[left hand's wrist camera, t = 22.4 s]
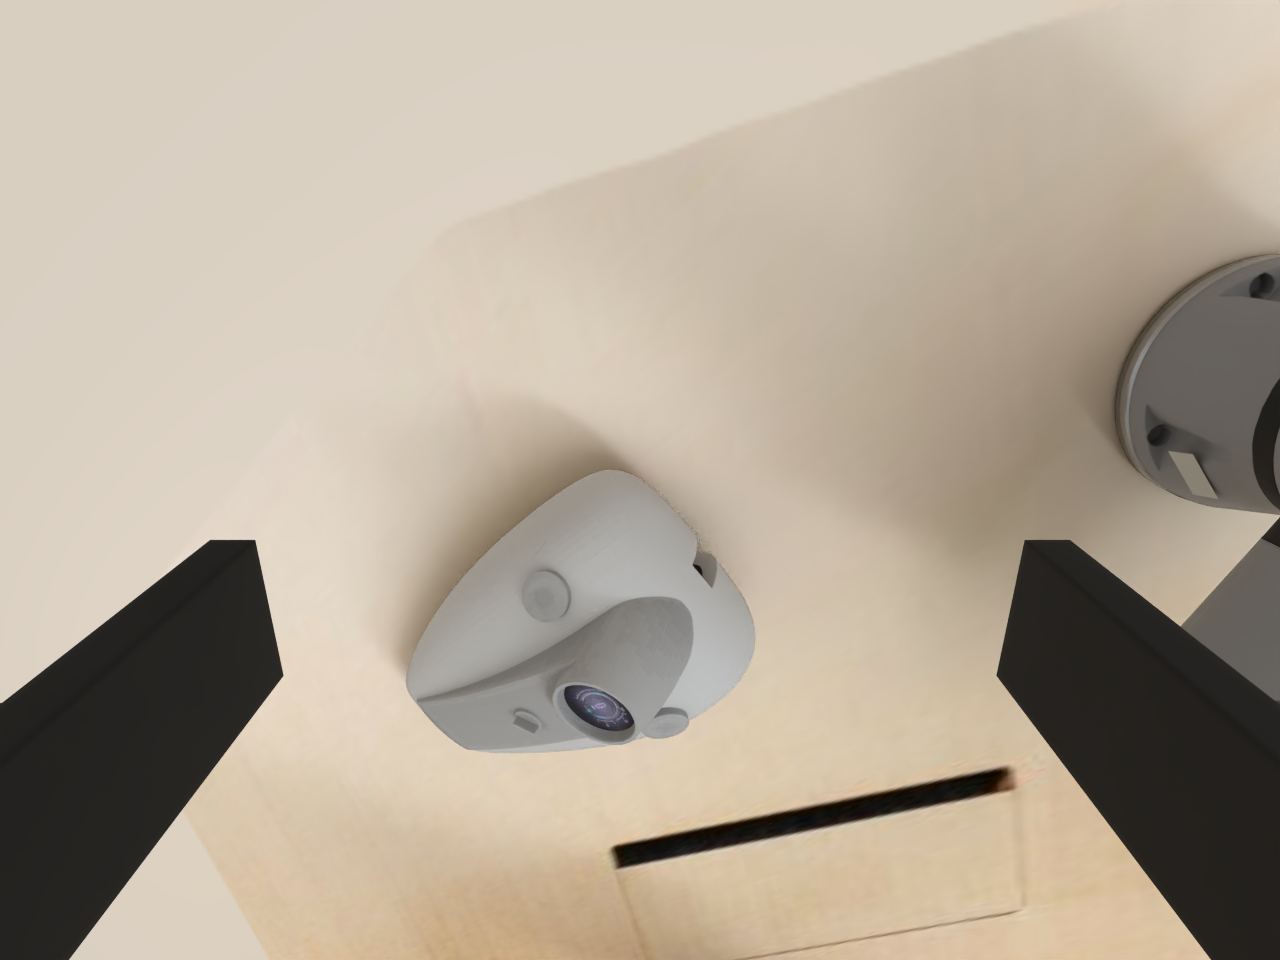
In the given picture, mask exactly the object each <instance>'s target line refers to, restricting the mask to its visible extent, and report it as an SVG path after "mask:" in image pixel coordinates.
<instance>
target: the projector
mask: <svg viewBox="0 0 1280 960" xmlns="http://www.w3.org/2000/svg"><path fill="white" fill-rule="evenodd" d="M697 546H698V541H697V536H696V534H695V533H694V531H693V530H692V529H691V528H690V527H689V526H688V524H687V523H686V522H685V521H684V520H683V519H682V517H681V516H680V515H679V514H678V513H677V512H676V511H675V510H674V508H673V507H672V506H671V505H670V504H669V503H668V502H667V501H666V500H665V499H664V498H663V497H662V496H661V495H660V494H659V493H657V492H656V491H655V490H654V489H653V488H652V487H651V486H649V485H648V484H647V483H645V482H644V481H643V480H641V479H640V478H638V477H636V476H634V475H632V474H629V473H626V472H623V471H619V470H602V471H598V472H595V473H592V474H590V475H588V476H586V477H584V478H582V479H580V480H578V481H576V482H575V483H573V484H571V485H570V486H568V487H566V488H565V489H563V490H562V491H560V492H559V493H557V494H556V495H555V496H553V497H552V498H550V499H549V500H548V501H546V502H545V503H544V504H542V505H541V506H540V507H538V508H537V509H536V510H534V511H533V512H532V513H531V514H529V515H528V516H527V517H526V518H524V519H523V520H522V521H521V522H520V523H518V524H517V525H516V526H515V527H514V528H513V529H511V530H510V531H509V532H508V533H507V534H506V535H505V536H503V537H502V538H501V539H500V540H499V541H498V542H497V543H496V544H495V545H493V546H492V547H491V548H490V549H489V550H488V551H487V552H486V553H485V554H484V555H483V556H482V557H481V558H480V559H479V560H478V561H477V562H476V563H475V564H474V565H473V567H472V568H471V569H470V570H469V571H468V572H467V573H466V574H465V575H464V576H463V577H462V579H461V580H460V581H459V582H458V584H457V585H456V586H455V587H454V589H453V590H452V591H451V592H450V594H449V595H448V596H447V597H446V599H445V600H444V602H443V603H442V604H441V606H440V607H439V609H438V610H437V612H436V613H435V615H434V616H433V618H432V619H431V621H430V623H429V624H428V626H427V628H426V629H425V631H424V633H423V635H422V637H421V638H420V640H419V642H418V644H417V647H416V649H415V651H414V653H413V656H412V658H411V661H410V665H409V668H408V672H407V677H406V686H407V690H408V692H409V694H410V695H411V697H412V699H413V700H414V701H415V702H416V704H417V705H418V706H419V707H420V708H421V709H422V710H423V712H424V713H425V714H426V715H427V717H428V718H429V719H430V720H431V721H432V722H433V723H434V724H435V725H436V726H437V727H438V728H439V729H440V730H441V731H442V732H443V733H444V734H445V735H447V736H448V737H449V738H450V739H452V740H453V741H454V742H456V743H457V744H459V745H460V746H462V747H463V748H465V749H468V750H476V751H480V752H491V753H540V752H556V751H570V750H581V749H588V748H596V747H604V746H609V745H621V744H626V743H629V742H631V741H633V740H637V739H641V738H645V737H649V738H656V739H660V738H668V737H671V736H674V735H677V734H679V733H681V732H682V731H684V730H685V729H686V728H687V727H688V725H689V720H691V719H693V718H695V717H697V716H698V715H700V714H702V713H704V712H705V711H706V710H708V709H709V708H711V707H712V706H714V705H715V704H716V703H718V702H719V701H720V700H721V699H722V698H723V697H724V696H726V695H727V694H728V693H729V692H730V691H731V690H732V689H733V688H734V686H735V685H736V684H737V683H738V682H739V681H740V679H741V678H742V676H743V675H744V673H745V671H746V670H747V668H748V666H749V664H750V661H751V659H752V656H753V653H754V648H755V628H754V623H753V619H752V616H751V613H750V610H749V608H748V605H747V603H746V601H745V599H744V598H743V596H742V594H741V592H740V591H739V589H738V588H737V586H736V585H735V583H734V582H733V580H732V579H731V578H730V576H729V575H728V574H727V572H726V571H725V570H724V568H723V567H722V566H721V565H720V563H719V562H718V561H717V560H716V558H715V557H714V556H713V555H711V554H709V553H696V552H697Z"/></svg>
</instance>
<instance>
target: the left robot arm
mask: <svg viewBox="0 0 1280 960" xmlns="http://www.w3.org/2000/svg"><path fill="white" fill-rule="evenodd" d="M1115 415H1116V425H1117V431H1118V435H1119V439H1120V442H1121V444H1122V447H1123V449H1124V451H1125V453H1126V455H1127V457H1128V458H1129V460H1130V461H1131V463H1132V464H1133V465H1134V467H1135V468H1136V469H1137V470H1138V471H1139V472H1140V473H1141V474H1142V475H1143V476H1145V477H1146V478H1147V479H1148V480H1150V481H1151V482H1153V483H1154V484H1156V485H1157V486H1159V487H1161V488H1163V489H1165V490H1167V491H1168V492H1170V493H1172V494H1174V495H1177V496H1179V497H1181V498H1184V499H1187V500H1190V501H1193V502H1196V503H1199V504H1203V505H1206V506H1211V507H1217V508H1226V509H1235V510H1243V511H1252V512H1260V513H1269V514H1277V515H1280V254H1275V255H1263V256H1257V257H1252V258H1248V259H1244V260H1240V261H1237V262H1234V263H1231V264H1228V265H1226V266H1223V267H1221V268H1219V269H1217V270H1214V271H1212V272H1210V273H1209V274H1207V275H1205V276H1203V277H1201V278H1200V279H1198V280H1196V281H1195V282H1193V283H1192V284H1190V285H1189V286H1187V287H1186V288H1185V289H1183V290H1182V291H1181V292H1179V293H1178V294H1177V295H1176V296H1175V297H1173V298H1172V299H1171V300H1170V301H1169V302H1168V303H1167V304H1166V305H1165V306H1164V307H1163V308H1162V309H1161V310H1160V311H1159V312H1158V313H1157V314H1156V315H1155V316H1154V317H1153V319H1152V320H1151V321H1150V322H1149V324H1148V325H1147V326H1146V327H1145V329H1144V330H1143V332H1142V333H1141V335H1140V336H1139V337H1138V339H1137V341H1136V343H1135V344H1134V346H1133V348H1132V350H1131V352H1130V354H1129V356H1128V358H1127V360H1126V362H1125V365H1124V368H1123V370H1122V373H1121V377H1120V380H1119V384H1118V389H1117V395H1116V405H1115ZM1271 543H1272V544H1271ZM1273 544H1274V545H1273ZM1275 545H1276V546H1275ZM1277 546H1278V547H1277ZM1279 547H1280V518H1279V519H1278V520H1277V521H1276V522H1275V523H1274V524H1273V526H1272V527H1271V528H1270V529H1269V530H1268V531H1267V532H1266V533H1265V535H1264V536H1262V537H1261V539H1260V540H1259V541H1258V542H1257V543H1256V544H1255V546H1254V547H1253V548H1252V549H1251V550H1250V551H1249V552H1248V553H1247V554H1246V555H1245V556H1244V558H1243V559H1242V560H1241V561H1240V562H1239V563H1238V564H1237V565H1236V566H1235V567H1234V569H1233V570H1232V571H1231V572H1230V573H1229V574H1228V575H1227V576H1226V577H1225V578H1224V580H1223V581H1222V582H1221V583H1220V584H1219V585H1218V586H1217V587H1216V588H1215V589H1214V591H1213V592H1212V593H1211V594H1210V595H1209V596H1208V597H1207V598H1206V599H1205V600H1204V602H1203V603H1202V604H1201V605H1200V606H1199V607H1198V608H1197V609H1196V610H1195V611H1194V612H1193V614H1192V615H1191V616H1190V617H1189V618H1188V619H1187V620H1186V621H1185V622H1184V623H1183V625H1182V626H1181V627H1180V626H1179V625H1178V624H1176V623H1175V622H1174V621H1172V620H1171V619H1170V618H1169V617H1167V616H1166V615H1165V614H1164V613H1162V612H1161V611H1160V610H1158V609H1157V608H1156V607H1155V606H1153V605H1152V604H1151V603H1149V602H1148V601H1147V600H1146V599H1144V598H1143V597H1142V596H1141V595H1139V594H1138V593H1137V592H1135V591H1134V590H1133V589H1132V588H1130V587H1129V586H1128V585H1126V584H1125V583H1124V582H1123V581H1121V580H1120V579H1119V578H1118V577H1116V576H1115V575H1114V574H1112V573H1111V572H1110V571H1109V570H1107V569H1106V568H1105V567H1103V566H1102V565H1101V564H1100V563H1098V562H1097V561H1096V560H1095V559H1093V558H1092V557H1091V556H1089V555H1088V554H1087V553H1086V552H1084V551H1083V550H1082V549H1081V548H1079V547H1078V546H1077V545H1075V544H1074V543H1073V542H1072V541H1070V540H1025V542H1024V546H1023V551H1022V556H1021V561H1020V566H1019V570H1018V575H1017V580H1016V585H1015V590H1014V594H1013V599H1012V604H1011V609H1010V614H1009V618H1008V623H1007V628H1006V633H1005V638H1004V642H1003V647H1002V652H1001V657H1000V662H999V666H998V671H997V677H998V678H999V680H1000V681H1001V682H1002V684H1003V685H1004V686H1005V687H1006V689H1007V690H1008V691H1009V693H1010V694H1011V695H1012V697H1013V698H1014V699H1015V701H1016V702H1017V703H1018V705H1019V706H1020V707H1021V709H1022V710H1023V711H1024V713H1025V714H1026V715H1027V717H1028V718H1029V719H1030V721H1031V722H1032V723H1033V725H1034V726H1035V727H1036V729H1037V730H1038V731H1039V732H1040V734H1041V735H1042V736H1043V738H1044V739H1045V740H1046V742H1047V743H1048V744H1049V746H1050V747H1051V748H1052V750H1053V751H1054V752H1055V754H1056V755H1057V756H1058V758H1059V759H1060V760H1061V762H1062V763H1063V764H1064V766H1065V767H1066V768H1067V770H1068V771H1069V772H1070V774H1071V775H1072V776H1073V778H1074V779H1075V780H1076V781H1077V783H1078V784H1079V785H1080V787H1081V788H1082V789H1083V791H1084V792H1085V793H1086V795H1087V796H1088V797H1089V799H1090V800H1091V801H1092V803H1093V804H1094V805H1095V807H1096V808H1097V809H1098V811H1099V812H1100V813H1101V815H1102V816H1103V817H1104V819H1105V820H1106V821H1107V823H1108V824H1109V825H1110V826H1111V828H1112V829H1113V830H1114V832H1115V833H1116V834H1117V836H1118V837H1119V838H1120V840H1121V841H1122V842H1123V844H1124V845H1125V846H1126V848H1127V849H1128V850H1129V852H1130V853H1131V854H1132V856H1133V857H1134V858H1135V860H1136V861H1137V862H1138V864H1139V865H1140V866H1141V868H1142V869H1143V870H1144V871H1145V873H1146V874H1147V875H1148V877H1149V878H1150V879H1151V881H1152V882H1153V883H1154V885H1155V886H1156V887H1157V889H1158V890H1159V891H1160V893H1161V894H1162V895H1163V897H1164V898H1165V899H1166V901H1167V902H1168V903H1169V905H1170V906H1171V907H1172V909H1173V910H1174V911H1175V913H1176V914H1177V915H1178V916H1179V918H1180V919H1181V920H1182V922H1183V923H1184V924H1185V926H1186V927H1187V928H1188V930H1189V931H1190V932H1191V934H1192V935H1193V936H1194V938H1195V939H1196V940H1197V942H1198V943H1199V944H1200V946H1201V947H1202V948H1203V950H1204V951H1205V952H1206V954H1207V955H1208V956H1209V958H1210V959H1211V960H1280V548H1279ZM282 677H283V671H282V666H281V662H280V657H279V652H278V647H277V642H276V638H275V633H274V628H273V623H272V618H271V614H270V609H269V604H268V599H267V594H266V590H265V585H264V580H263V575H262V570H261V566H260V561H259V556H258V551H257V546H256V542H255V540H210V541H208V542H207V543H206V544H205V545H203V546H202V547H201V548H199V549H198V550H197V551H196V552H194V553H193V554H192V555H191V556H189V557H188V558H187V559H185V560H184V561H183V562H182V563H180V564H179V565H178V566H176V567H175V568H174V569H173V570H171V571H170V572H169V573H168V574H166V575H165V576H164V577H162V578H161V579H160V580H159V581H157V582H156V583H155V584H154V585H152V586H151V587H150V588H148V589H147V590H146V591H145V592H143V593H142V594H141V595H139V596H138V597H137V598H136V599H134V600H133V601H132V602H131V603H129V604H128V605H127V606H125V607H124V608H123V609H122V610H120V611H119V612H118V613H116V614H115V615H114V616H113V617H111V618H110V619H109V620H108V621H106V622H105V623H104V624H102V625H101V626H100V627H99V628H97V629H96V630H95V631H93V632H92V633H91V634H90V635H88V636H87V637H86V638H85V639H83V640H82V641H81V642H79V643H78V644H77V645H76V646H74V647H73V648H72V649H70V650H69V651H68V652H67V653H65V654H64V655H63V656H62V657H60V658H59V659H58V660H56V661H55V662H54V663H53V664H51V665H50V666H49V667H47V668H46V669H45V670H44V671H42V672H41V673H40V674H39V675H37V676H36V677H35V678H33V679H32V680H31V681H30V682H28V683H27V684H26V685H24V686H23V687H22V688H21V689H19V690H18V691H17V692H16V693H14V694H13V695H12V696H11V697H9V698H8V699H7V700H5V701H4V702H3V703H0V960H69V959H70V957H71V956H72V955H73V954H74V952H75V951H76V950H77V948H78V947H79V946H80V944H81V943H82V942H83V940H84V939H85V938H86V936H87V935H88V934H89V932H90V931H91V930H92V928H93V927H94V926H95V924H96V923H97V922H98V920H99V919H100V918H101V916H102V915H103V914H104V912H105V911H106V910H107V909H108V907H109V906H110V904H111V903H112V902H113V901H114V899H115V898H116V897H117V895H118V894H119V893H120V891H121V890H122V889H123V887H124V886H125V885H126V883H127V882H128V881H129V879H130V878H131V877H132V875H133V874H134V873H135V871H136V870H137V869H138V868H139V866H140V865H141V864H142V862H143V861H144V860H145V858H146V857H147V856H148V854H149V853H150V852H151V850H152V849H153V848H154V846H155V845H156V844H157V842H158V841H159V840H160V838H161V837H162V836H163V834H164V833H165V832H166V830H167V829H168V828H169V826H170V825H171V824H172V823H173V821H174V820H175V818H176V817H177V816H178V814H179V813H180V812H181V811H182V809H183V808H184V807H185V805H186V804H187V803H188V801H189V800H190V799H191V797H192V796H193V795H194V793H195V792H196V791H197V789H198V788H199V787H200V785H201V784H202V783H203V781H204V780H205V779H206V777H207V776H208V775H209V774H210V772H211V771H212V770H213V768H214V767H215V766H216V764H217V763H218V762H219V760H220V759H221V758H222V756H223V755H224V754H225V752H226V751H227V750H228V748H229V747H230V746H231V744H232V743H233V742H234V740H235V739H236V738H237V736H238V735H239V734H240V732H241V731H242V730H243V729H244V727H245V726H246V725H247V723H248V722H249V721H250V719H251V718H252V717H253V715H254V714H255V713H256V711H257V710H258V709H259V707H260V706H261V705H262V703H263V702H264V701H265V699H266V698H267V697H268V695H269V694H270V693H271V691H272V690H273V689H274V687H275V686H276V685H277V684H278V682H279V681H280V680H281V678H282Z"/></svg>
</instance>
